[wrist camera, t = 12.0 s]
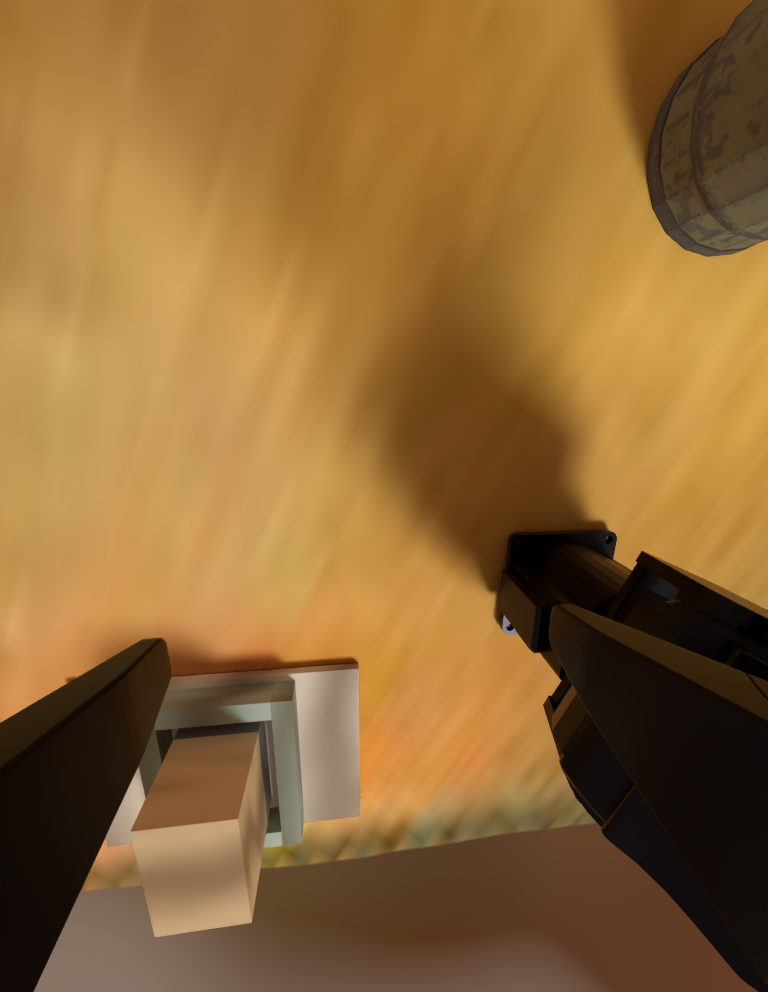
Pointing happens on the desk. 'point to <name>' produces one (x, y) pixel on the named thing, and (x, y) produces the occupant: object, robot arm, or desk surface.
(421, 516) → the desk surface
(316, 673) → the socket plate
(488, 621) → the desk surface
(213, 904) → the plug block
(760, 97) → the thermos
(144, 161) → the desk surface
